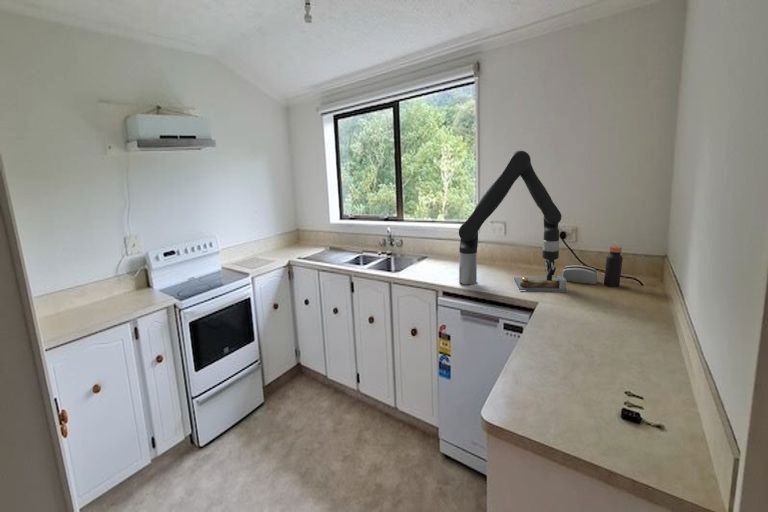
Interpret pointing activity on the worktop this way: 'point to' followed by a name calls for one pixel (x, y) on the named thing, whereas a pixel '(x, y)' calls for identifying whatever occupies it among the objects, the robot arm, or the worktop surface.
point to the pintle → (525, 279)
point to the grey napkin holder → (580, 274)
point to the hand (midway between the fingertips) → (549, 281)
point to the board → (547, 289)
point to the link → (539, 283)
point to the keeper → (561, 282)
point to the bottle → (613, 267)
